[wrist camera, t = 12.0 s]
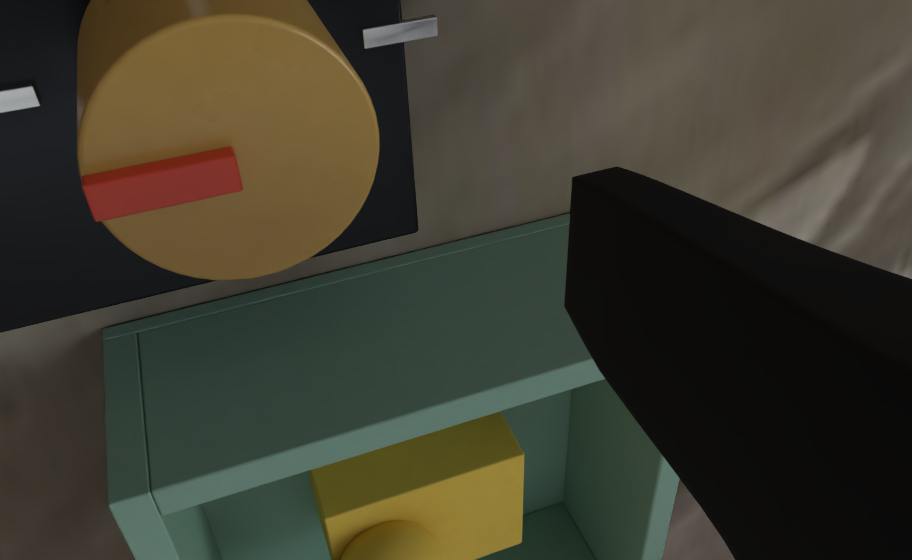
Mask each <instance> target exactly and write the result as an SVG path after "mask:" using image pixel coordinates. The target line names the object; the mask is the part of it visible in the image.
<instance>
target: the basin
mask: <svg viewBox="0 0 912 560" xmlns="http://www.w3.org/2000/svg"><path fill="white" fill-rule="evenodd" d="M569 223H570V213H569V214H565V215H560V216H556V217H552V218H548V219H544V220H540V221H536V222H532V223H528V224H524V225H520V226H516V227H512V228H508V229H504V230H500V231H496V232H492V233H488V234H484V235H480V236H475V237H471V238H467V239H463V240H459V241H455V242H451V243H447V244H443V245H439V246H435V247H431V248H427V249H423V250H419V251H415V252H411V253H407V254H403V255H399V256H395V257H391V258H386V259H382V260H378V261H374V262H370V263H366V264H362V265H358V266H354V267H350V268H346V269H342V270H338V271H334V272H330V273H326V274H322V275H318V276H314V277H310V278H306V279H302V280H297V281H293V282H289V283H285V284H281V285H277V286H273V287H269V288H265V289H261V290H257V291H253V292H249V293H245V294H241V295H237V296H233V297H229V298H225V299H221V300H217V301H213V302H208V303H204V304H200V305H196V306H192V307H188V308H184V309H180V310H176V311H172V312H168V313H164V314H160V315H156V316H152V317H148V318H144V319H140V320H136V321H132V322H128V323H124V324H119V325H115V326H111V327H107V328H104V329H102V342H103V343H102V351H103V379H104V408H105V437H106V466H107V495H108V507H109V509H110V511H111V513H112V515H113V517H114V519H115V521H116V523H117V525H118V527H119V529H120V531H121V533H122V535H123V537H124V539H125V541H126V543H127V545H128V547H129V549H130V550H131V552H132V554H133V556H134V558H135V560H331V558H330V554H329V551H328V547H327V543H326V540H325V536H324V533H323V529H322V526H321V522H320V519H319V515H318V511H317V507H316V503H315V498H314V494H313V490H312V486H311V481H310V477H309V473H308V471H309V470H312V469H316V468H319V467H322V466H325V465H328V464H332V463H335V462H338V461H341V460H345V459H348V458H351V457H354V456H358V455H361V454H364V453H367V452H370V451H374V450H377V449H380V448H383V447H387V446H390V445H393V444H396V443H400V442H403V441H406V440H409V439H412V438H416V437H419V436H422V435H425V434H429V433H432V432H435V431H438V430H441V429H445V428H448V427H451V426H454V425H458V424H461V423H464V422H467V421H471V420H474V419H477V418H480V417H483V416H487V415H490V414H493V413H496V412H501V413H502V415H503V417H504V419H505V421H506V422H507V424H508V426H509V428H510V429H511V431H512V433H513V435H514V437H515V438H516V440H517V442H518V444H519V445H520V447H521V449H522V451H523V452H524V488H523V523H522V543H520V544H517V545H514V546H511V547H508V548H506V549H503V550H500V551H497V552H495V553H492V554H489V555H486V556H483V557H481V558H478V559H475V560H662V555H663V551H664V546H665V542H666V537H667V533H668V528H669V524H670V519H671V515H672V510H673V506H674V501H675V497H676V492H677V488H678V483H679V479H680V478H679V477H678V476H677V474H676V473H675V472H674V470H673V469H672V468H671V466H670V465H669V464H668V462H667V461H666V460H665V458H664V457H663V456H662V454H661V453H660V452H659V450H658V449H657V448H656V446H655V445H654V444H653V442H652V441H651V440H650V438H649V437H648V436H647V434H646V433H645V432H644V430H643V429H642V428H641V426H640V425H639V424H638V423H637V421H636V420H635V419H634V417H633V416H632V414H631V413H630V412H629V410H628V409H627V408H626V406H625V405H624V404H623V402H622V401H621V400H620V398H619V397H618V395H617V394H616V393H615V391H614V390H613V389H612V387H611V386H610V385H609V383H608V382H607V380H606V379H605V378H604V376H603V375H602V373H601V372H600V371H599V369H598V367H597V366H596V364H595V362H594V360H593V359H592V357H591V355H590V353H589V352H588V350H587V348H586V346H585V345H584V343H583V341H582V339H581V337H580V335H579V333H578V332H577V330H576V328H575V326H574V324H573V322H572V320H571V318H570V316H569V314H568V313H567V311H566V309H565V307H564V301H565V286H566V270H567V255H568V239H569Z"/></svg>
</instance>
